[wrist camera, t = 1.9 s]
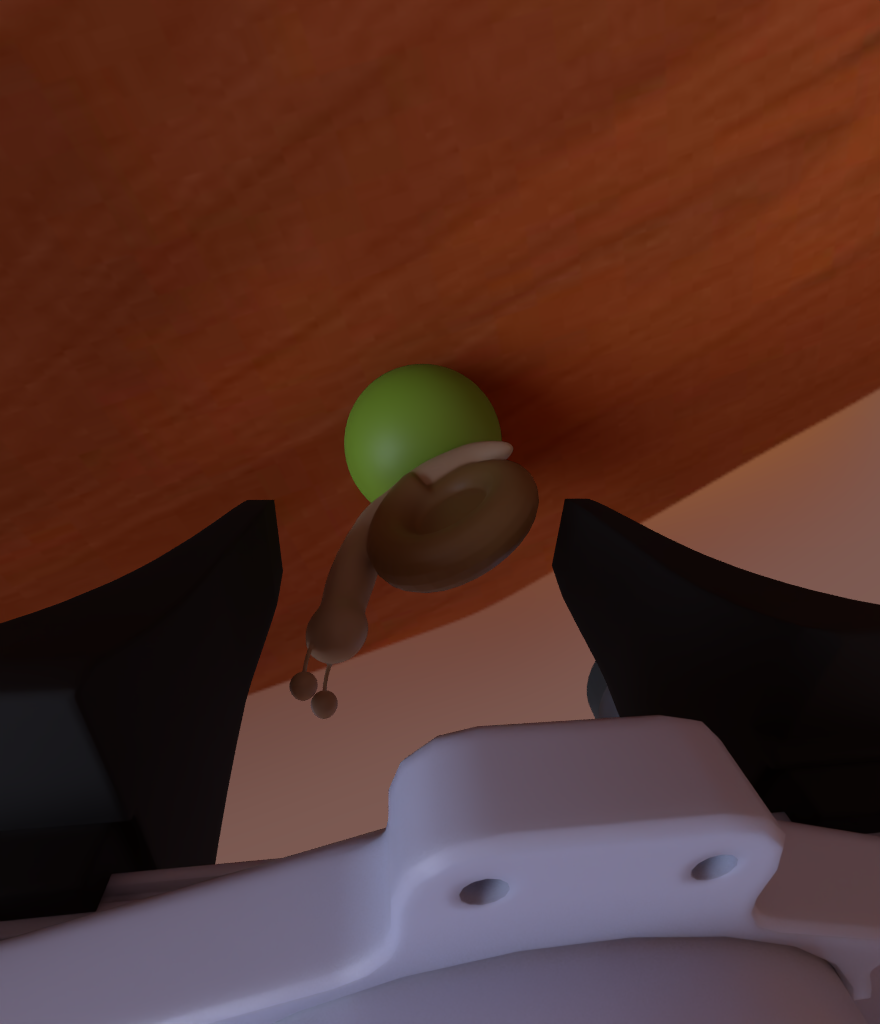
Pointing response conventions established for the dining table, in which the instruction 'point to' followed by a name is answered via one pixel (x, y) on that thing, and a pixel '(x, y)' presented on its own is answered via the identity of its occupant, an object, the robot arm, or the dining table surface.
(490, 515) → the snail figurine
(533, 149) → the dining table surface
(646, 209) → the dining table surface
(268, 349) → the dining table surface
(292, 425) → the dining table surface
